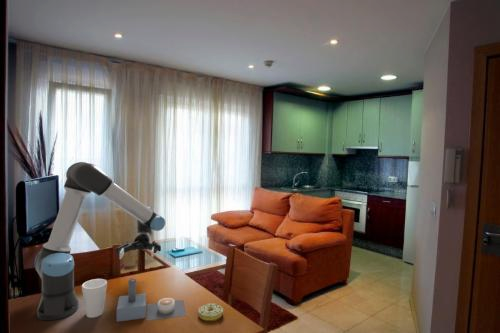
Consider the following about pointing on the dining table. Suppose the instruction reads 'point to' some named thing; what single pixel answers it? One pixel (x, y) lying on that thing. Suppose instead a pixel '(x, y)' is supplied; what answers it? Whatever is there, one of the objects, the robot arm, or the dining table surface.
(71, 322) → the dining table surface
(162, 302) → the bowl
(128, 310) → the cover
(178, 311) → the mat
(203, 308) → the decorated donut
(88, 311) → the foam cup
